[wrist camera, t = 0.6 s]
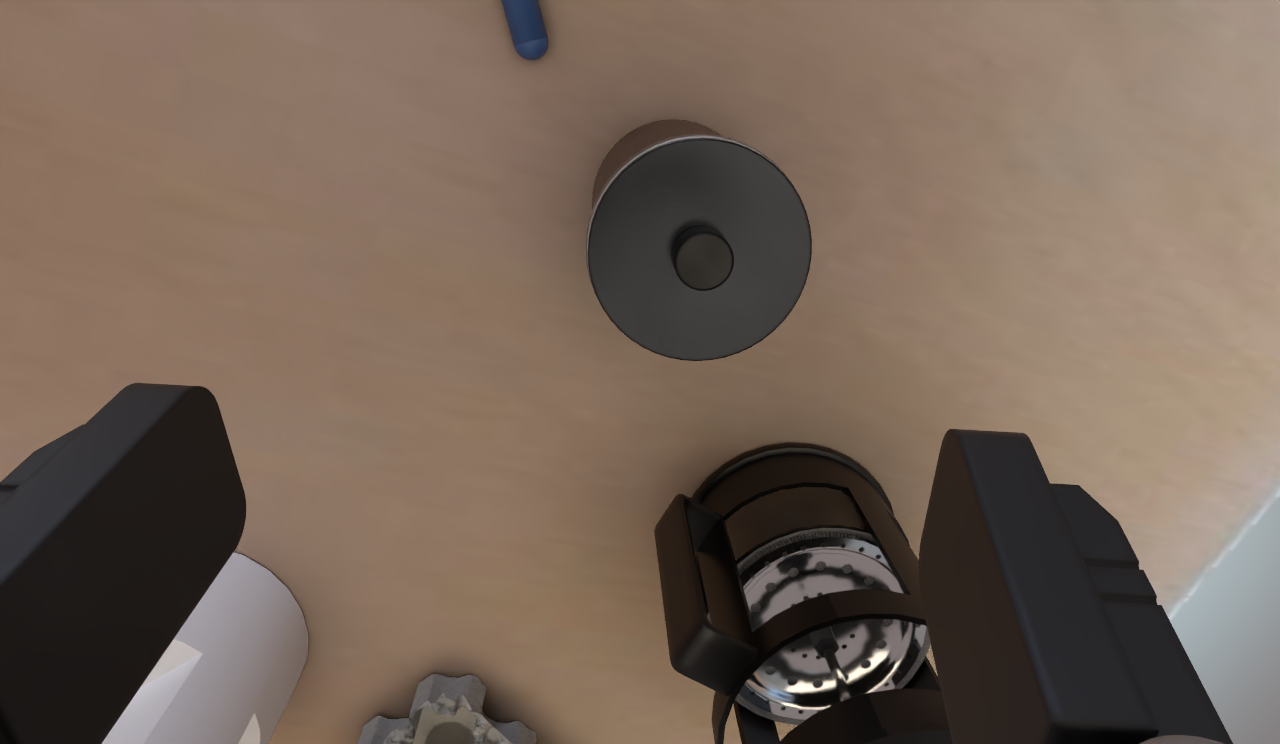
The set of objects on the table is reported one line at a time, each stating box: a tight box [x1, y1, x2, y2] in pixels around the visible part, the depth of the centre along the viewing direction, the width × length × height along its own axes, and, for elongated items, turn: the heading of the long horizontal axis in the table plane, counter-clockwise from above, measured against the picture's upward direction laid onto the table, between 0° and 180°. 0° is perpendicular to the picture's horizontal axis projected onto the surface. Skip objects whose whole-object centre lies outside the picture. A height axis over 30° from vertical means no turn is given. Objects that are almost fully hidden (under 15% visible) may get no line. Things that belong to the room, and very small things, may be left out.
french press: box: [655, 443, 953, 744], centre depth 28 cm, size 12×9×23 cm
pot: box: [586, 120, 812, 361], centre depth 29 cm, size 6×6×11 cm
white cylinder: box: [102, 552, 308, 744], centre depth 34 cm, size 9×9×12 cm
